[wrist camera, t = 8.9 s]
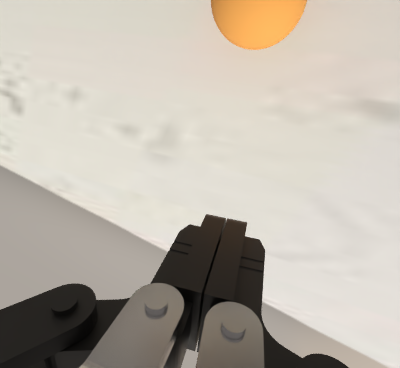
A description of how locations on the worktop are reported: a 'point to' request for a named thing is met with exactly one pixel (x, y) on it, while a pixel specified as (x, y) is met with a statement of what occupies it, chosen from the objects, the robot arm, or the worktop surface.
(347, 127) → the worktop surface
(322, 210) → the worktop surface
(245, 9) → the ball
